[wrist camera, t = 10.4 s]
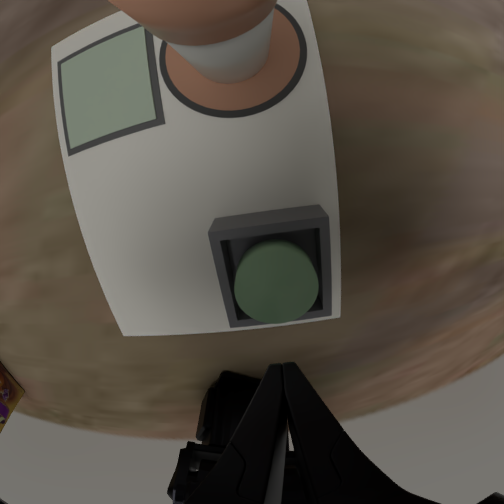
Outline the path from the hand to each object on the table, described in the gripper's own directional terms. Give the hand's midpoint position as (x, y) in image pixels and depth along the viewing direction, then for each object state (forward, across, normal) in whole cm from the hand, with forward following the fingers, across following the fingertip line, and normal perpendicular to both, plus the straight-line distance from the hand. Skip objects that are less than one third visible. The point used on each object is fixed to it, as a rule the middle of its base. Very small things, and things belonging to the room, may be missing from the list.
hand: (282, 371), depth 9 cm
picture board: (+9, +4, -6) cm, 12 cm away
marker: (+8, 0, -12) cm, 15 cm away
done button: (+6, 0, 0) cm, 6 cm away
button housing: (+8, 0, 0) cm, 8 cm away
